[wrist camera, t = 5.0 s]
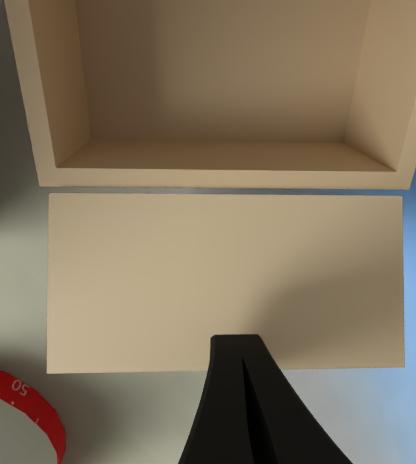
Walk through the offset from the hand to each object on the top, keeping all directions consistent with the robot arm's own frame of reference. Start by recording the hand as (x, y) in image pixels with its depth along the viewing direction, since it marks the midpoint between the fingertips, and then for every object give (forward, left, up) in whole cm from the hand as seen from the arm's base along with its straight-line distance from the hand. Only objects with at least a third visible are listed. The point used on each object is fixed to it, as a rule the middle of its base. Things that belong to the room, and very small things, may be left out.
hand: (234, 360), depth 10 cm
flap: (+1, +1, -2) cm, 2 cm away
